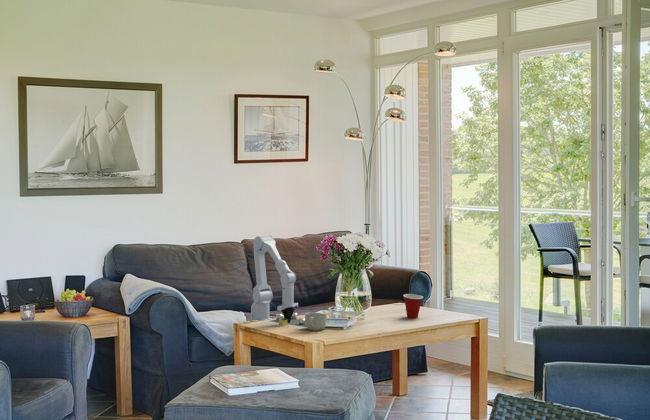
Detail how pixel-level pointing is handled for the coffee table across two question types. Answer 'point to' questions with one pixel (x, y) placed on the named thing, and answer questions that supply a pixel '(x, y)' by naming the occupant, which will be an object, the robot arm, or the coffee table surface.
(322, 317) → the teacup
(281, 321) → the nut
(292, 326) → the mat
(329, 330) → the coffee table surface
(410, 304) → the plastic cup
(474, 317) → the coffee table surface
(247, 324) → the coffee table surface
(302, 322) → the spacers
